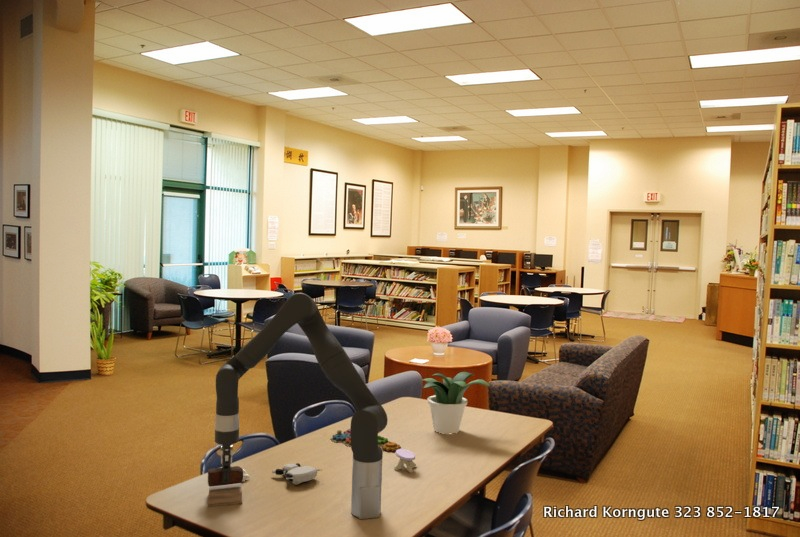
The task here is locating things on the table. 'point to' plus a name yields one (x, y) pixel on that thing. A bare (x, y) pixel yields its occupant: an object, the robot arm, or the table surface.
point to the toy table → (405, 459)
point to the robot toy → (297, 473)
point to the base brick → (225, 494)
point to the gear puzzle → (346, 440)
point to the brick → (217, 475)
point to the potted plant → (449, 401)
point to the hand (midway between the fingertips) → (226, 479)
